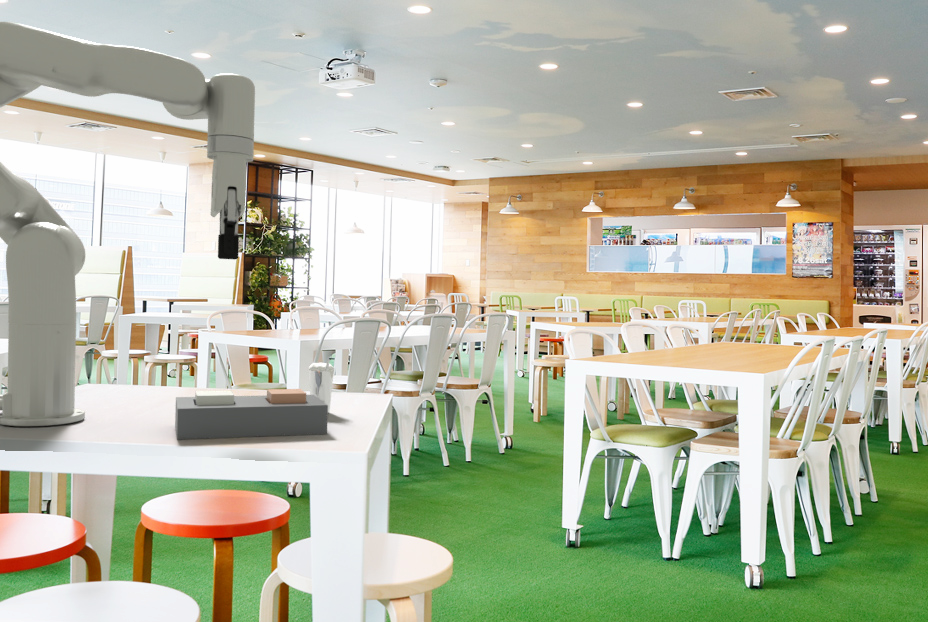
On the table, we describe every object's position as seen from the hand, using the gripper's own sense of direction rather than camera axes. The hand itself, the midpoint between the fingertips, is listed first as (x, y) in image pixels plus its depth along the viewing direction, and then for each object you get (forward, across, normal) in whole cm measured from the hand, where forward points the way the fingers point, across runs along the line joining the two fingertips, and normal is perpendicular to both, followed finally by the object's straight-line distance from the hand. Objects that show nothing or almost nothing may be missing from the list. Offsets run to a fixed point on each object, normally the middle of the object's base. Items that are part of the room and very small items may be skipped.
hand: (228, 258), depth 134 cm
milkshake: (+27, -2, +17) cm, 32 cm away
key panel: (+27, +12, +3) cm, 30 cm away
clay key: (+25, +12, +8) cm, 29 cm away
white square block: (+25, +12, -3) cm, 28 cm away
